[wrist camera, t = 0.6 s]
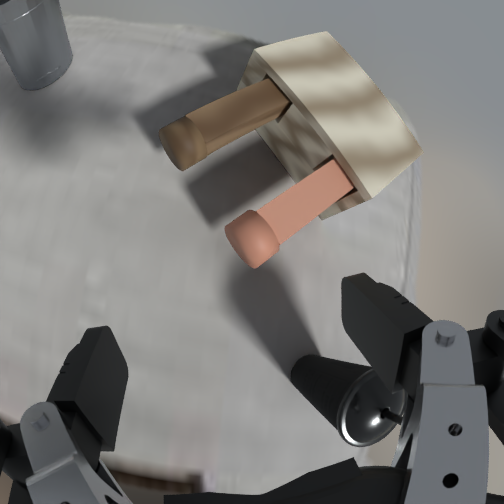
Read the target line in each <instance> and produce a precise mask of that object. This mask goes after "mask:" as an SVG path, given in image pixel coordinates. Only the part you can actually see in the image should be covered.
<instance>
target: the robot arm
mask: <svg viewBox="0 0 504 504" xmlns="http://www.w3.org/2000/svg"><path fill="white" fill-rule="evenodd" d="M0 49H1V51H2V53H3V55H4V57H5V58H6V60H7V62H8V64H9V66H10V68H11V70H12V72H13V73H14V75H15V77H16V79H17V81H18V82H19V84H20V85H21V87H22V88H24V89H26V90H36V89H40V88H43V87H45V86H47V85H49V84H51V83H53V82H54V81H55V80H57V79H58V78H59V77H60V76H61V75H63V73H64V72H65V71H66V70H67V69H68V67H69V66H70V64H71V61H72V56H73V55H72V50H71V47H70V43H69V40H68V35H67V32H66V28H65V24H64V20H63V16H62V12H61V7H60V3H59V0H0ZM341 293H342V323H343V326H344V329H345V331H346V333H347V334H348V336H349V337H350V338H351V340H352V341H353V342H354V344H355V345H356V346H357V348H358V349H359V350H360V352H361V353H362V354H363V356H364V357H365V358H366V360H367V361H368V362H369V364H370V365H371V366H372V368H373V369H374V370H375V372H376V373H377V374H378V376H379V377H380V379H381V380H382V381H383V383H384V384H385V385H386V387H387V388H388V390H389V391H390V392H391V394H393V393H396V392H398V391H400V390H402V389H405V390H406V392H407V393H408V394H407V397H406V402H405V408H404V414H403V420H402V425H401V431H400V435H399V441H398V445H397V449H396V452H395V455H394V458H393V461H392V464H391V467H389V466H364V467H358V465H357V463H356V461H355V459H354V457H353V458H350V459H348V460H345V461H342V462H339V463H336V464H333V465H331V466H327V467H324V468H321V469H318V470H315V471H311V472H308V473H306V474H304V475H302V476H301V477H299V478H297V479H295V480H293V481H291V482H289V483H287V484H285V485H282V486H280V487H278V488H276V489H274V490H272V491H269V492H267V493H265V494H261V495H242V494H225V493H213V492H205V493H194V494H180V495H164V504H504V496H501V495H496V494H491V493H487V482H488V462H489V461H488V460H489V430H488V429H489V428H488V425H489V426H490V428H491V429H492V430H493V431H494V433H495V434H496V435H497V437H498V438H499V440H500V441H501V442H502V444H503V445H504V310H497V311H493V312H491V313H490V314H489V315H488V317H487V320H486V323H485V327H484V328H480V329H475V330H470V331H466V330H465V329H464V328H463V327H462V326H461V325H459V324H457V323H455V322H452V321H446V320H439V321H433V320H431V319H430V318H429V317H428V316H427V315H425V314H424V313H423V312H422V311H421V310H420V309H418V308H417V307H416V306H415V305H414V304H412V303H411V302H410V303H409V300H407V299H406V298H405V297H404V296H402V295H401V294H400V293H399V292H398V291H396V290H395V289H394V288H393V287H390V286H388V285H385V284H383V283H376V282H375V281H374V280H373V279H372V278H370V277H369V276H368V275H367V274H365V273H360V274H356V275H352V276H348V277H344V278H343V279H342V283H341ZM63 364H64V366H62V368H61V370H60V374H58V376H57V378H56V380H55V382H54V385H53V387H52V389H51V391H50V393H49V396H48V398H47V400H46V402H39V403H37V404H34V405H33V406H31V407H30V408H28V409H27V410H26V412H25V413H24V414H23V416H22V418H21V421H20V423H18V424H14V425H10V426H6V425H5V424H4V423H3V422H2V421H1V419H0V475H1V471H3V472H5V473H6V474H7V475H8V476H9V477H10V478H11V479H13V483H12V488H11V492H10V497H9V502H8V504H133V503H132V502H131V501H130V500H129V499H128V497H127V496H126V495H125V493H124V492H123V491H122V489H121V488H120V486H119V485H118V484H117V482H116V481H115V479H114V478H113V476H112V475H111V474H110V472H109V471H108V469H107V468H106V466H105V465H104V463H103V462H102V461H101V460H100V458H99V457H100V451H114V449H115V442H116V436H117V431H118V425H119V420H120V414H121V409H122V404H123V399H124V395H125V390H126V385H127V381H128V367H127V363H126V361H125V358H124V356H123V354H122V352H121V350H120V348H119V346H118V344H117V341H116V339H115V337H114V335H113V333H112V331H111V329H110V328H109V327H108V326H101V327H94V328H88V329H87V330H86V331H85V333H84V335H83V337H82V339H81V341H80V343H79V344H77V345H76V346H75V347H74V348H73V349H72V350H71V351H70V352H69V353H68V355H67V357H66V359H65V361H64V363H63Z"/></svg>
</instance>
